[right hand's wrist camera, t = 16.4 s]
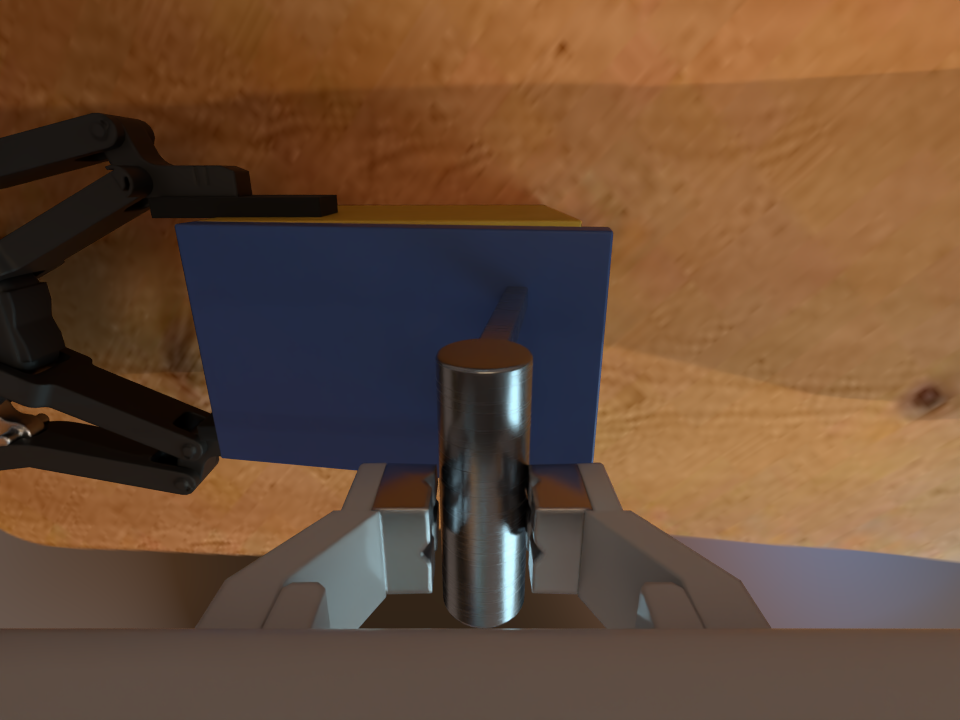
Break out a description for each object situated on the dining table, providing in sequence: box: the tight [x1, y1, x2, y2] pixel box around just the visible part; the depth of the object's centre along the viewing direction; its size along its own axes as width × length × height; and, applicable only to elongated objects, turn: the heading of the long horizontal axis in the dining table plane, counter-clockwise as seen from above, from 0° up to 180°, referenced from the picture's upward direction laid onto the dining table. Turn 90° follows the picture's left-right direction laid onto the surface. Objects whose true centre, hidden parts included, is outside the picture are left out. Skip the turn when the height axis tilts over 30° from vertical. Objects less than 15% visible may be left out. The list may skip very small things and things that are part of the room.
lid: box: [175, 221, 613, 628], centre depth 14 cm, size 14×9×9 cm, turn 89°
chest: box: [199, 205, 581, 227], centre depth 24 cm, size 14×9×10 cm, turn 90°
